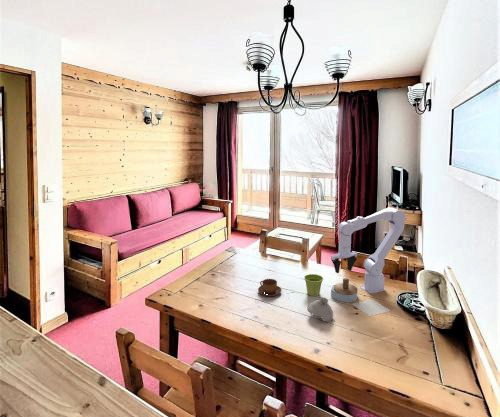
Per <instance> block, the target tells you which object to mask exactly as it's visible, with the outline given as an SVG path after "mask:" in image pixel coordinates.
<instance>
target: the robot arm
mask: <svg viewBox="0 0 500 417" xmlns="http://www.w3.org/2000/svg"><path fill="white" fill-rule="evenodd" d="M382 220H386V221H388V223H389V225H390V229H389V230H388V232H387V233H386V235H385V236H384V238H383V240H382V241H381V243H380V244H379V246H378V247H377V249H376V250H375V252H374V253H372V254H370V255H369V256H368V257H367V258H366V259H364V261H363V268H365V271H364V284H363V286H360V288H361V290H364V291H365V292H367V293H369V294H376V293H379V292H385V291H386V289H385V280H386V277H385V274H383V268H384V266H385V259H386V257H387V256H388V254H389V253H390V251H391V250H392V248H393V247H394V246H395V243H396V242H397V241H398V239H399V238H400V236H401V235H402V234H403V231H404V230H405V223H406V220H407V215H406V213H405V212H404V211H403V210H400V209H397V208H395V207H393V206H389V207H387V208H383V209H382V210H380V211H377V212H374V213H373V214H371V215H367V216H366V217H363V216H359V215H358V216H356V218H353V219H349V220H347V221H342V222H340V224H338V226H337V230H338V231H339V235H338V236H339V238H338V253H336V254H331V255H330V260H331V262H332V265H333V267H334V272H335V273H336V274H340V268H341V265H342V261H341V260H342V259H346V261H347V271H349V272H352V270H353V268H354V267H353V266H354V265H355V263H356V261H357V260H358V258H357V257H358V253H357V252H355V251H353V252H352V251H351V249H352V248H351V247H352V246H351V244H352V234H353V233H354V232H356V231H359V230H362V229H364V228H366V227H367V226H368V225H369V224H372V223H375V222H378V221H382ZM340 259H341V260H340Z"/></svg>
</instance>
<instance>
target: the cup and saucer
mask: <svg viewBox="0 0 500 417" xmlns="http://www.w3.org/2000/svg"><path fill="white" fill-rule="evenodd" d="M259 285H260V286H259V287H258V288H257V292H258V293H259V294H260V295H262V296H265V297H274V296H275V297H276V296H278V295H280V294H281V292H282V288H281V287H280V286H278V281H277V280H276V279H273V278H266V279H263V280H260V282H259ZM264 292H265V294H264ZM266 294H268V295H266Z"/></svg>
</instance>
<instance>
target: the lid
mask: <svg viewBox="0 0 500 417" xmlns="http://www.w3.org/2000/svg"><path fill="white" fill-rule="evenodd" d="M334 285H335V286H334V290H335V291H336V292H337V293H339V294H343V295H353V294H356V293H357V289H358V287H356V286H355V285H354V284H350V279H349V278H343V279H342V283H336V284H334Z"/></svg>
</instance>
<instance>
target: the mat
mask: <svg viewBox="0 0 500 417" xmlns="http://www.w3.org/2000/svg"><path fill="white" fill-rule="evenodd" d="M351 306H354V307H355V308H356V309H358V310H360V311H361V312H363V313H364V314H365V315H367V316H369V317H373V316H376V315H380V314H384V313H389V312H391V311H392V310H391V309H389V308H387V307H385V306H384V305H382V304H381V303H379V302H377V301H375V300H373V299H368V300H363V301H360V302H353V303H351Z"/></svg>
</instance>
